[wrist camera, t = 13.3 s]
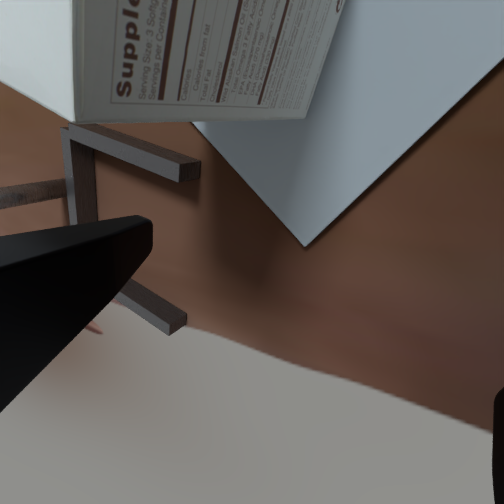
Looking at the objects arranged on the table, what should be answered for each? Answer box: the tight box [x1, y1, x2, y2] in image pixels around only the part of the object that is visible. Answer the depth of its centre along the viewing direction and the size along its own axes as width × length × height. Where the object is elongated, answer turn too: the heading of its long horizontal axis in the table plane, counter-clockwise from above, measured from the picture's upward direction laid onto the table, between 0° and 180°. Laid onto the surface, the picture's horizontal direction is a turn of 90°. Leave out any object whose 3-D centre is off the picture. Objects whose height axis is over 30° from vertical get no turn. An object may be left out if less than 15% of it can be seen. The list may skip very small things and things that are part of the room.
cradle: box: [0, 123, 201, 336], centre depth 25 cm, size 18×14×12 cm
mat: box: [192, 0, 504, 247], centre depth 17 cm, size 14×14×1 cm
